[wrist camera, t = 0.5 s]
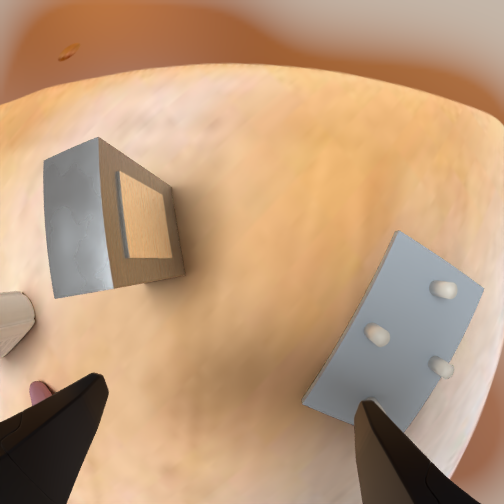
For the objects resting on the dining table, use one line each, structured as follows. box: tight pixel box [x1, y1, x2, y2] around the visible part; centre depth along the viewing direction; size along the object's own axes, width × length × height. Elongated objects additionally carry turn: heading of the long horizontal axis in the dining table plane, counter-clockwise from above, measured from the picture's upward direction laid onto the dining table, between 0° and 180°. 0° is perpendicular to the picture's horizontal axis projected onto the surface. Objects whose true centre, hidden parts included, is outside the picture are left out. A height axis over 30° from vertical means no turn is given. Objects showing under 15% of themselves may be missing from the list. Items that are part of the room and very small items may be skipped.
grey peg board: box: [302, 231, 484, 433], centre depth 20 cm, size 15×10×3 cm, turn 152°
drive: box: [43, 137, 185, 299], centre depth 18 cm, size 7×4×11 cm, turn 11°
